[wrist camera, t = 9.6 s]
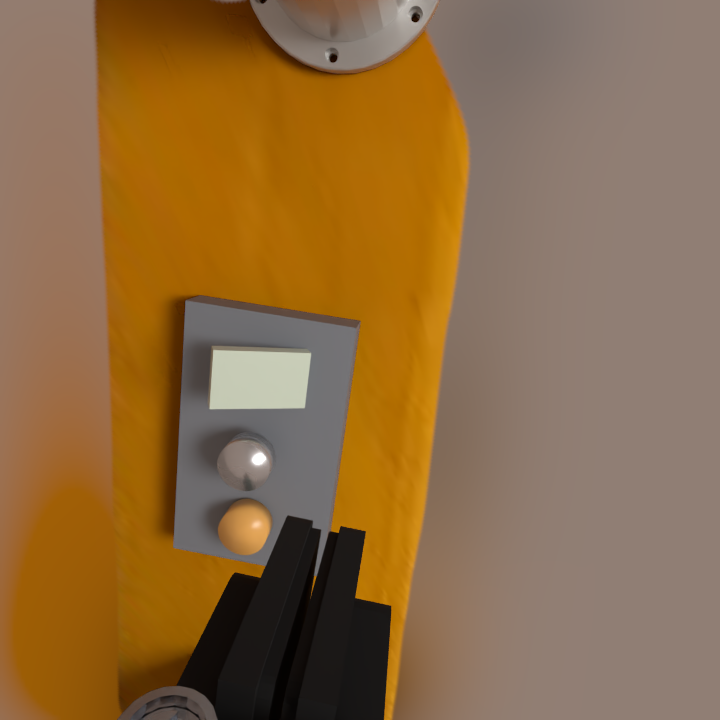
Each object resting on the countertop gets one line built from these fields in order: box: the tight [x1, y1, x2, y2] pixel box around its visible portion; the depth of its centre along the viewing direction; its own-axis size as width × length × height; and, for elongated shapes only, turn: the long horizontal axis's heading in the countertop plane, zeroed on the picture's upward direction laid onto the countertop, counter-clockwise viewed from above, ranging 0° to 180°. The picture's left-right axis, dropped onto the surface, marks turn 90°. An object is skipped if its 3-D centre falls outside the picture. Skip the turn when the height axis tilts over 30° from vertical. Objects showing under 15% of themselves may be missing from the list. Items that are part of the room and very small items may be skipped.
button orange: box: [218, 499, 273, 555], centre depth 39 cm, size 4×4×2 cm
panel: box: [173, 295, 360, 576], centre depth 40 cm, size 20×12×4 cm, turn 172°
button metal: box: [217, 432, 276, 491], centre depth 37 cm, size 4×4×2 cm
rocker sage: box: [208, 346, 311, 409], centre depth 35 cm, size 4×6×1 cm, turn 82°
